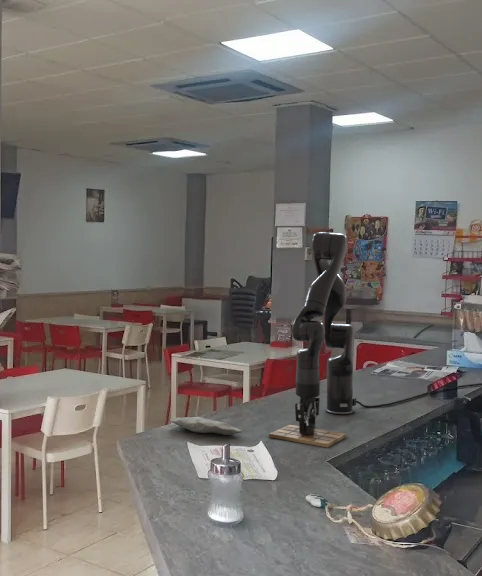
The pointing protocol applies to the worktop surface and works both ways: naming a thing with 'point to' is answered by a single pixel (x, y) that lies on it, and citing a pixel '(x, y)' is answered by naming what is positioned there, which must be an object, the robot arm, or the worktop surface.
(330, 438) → the grid board
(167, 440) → the worktop surface
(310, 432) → the dark grey short cylinder
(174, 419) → the stone tool replica
